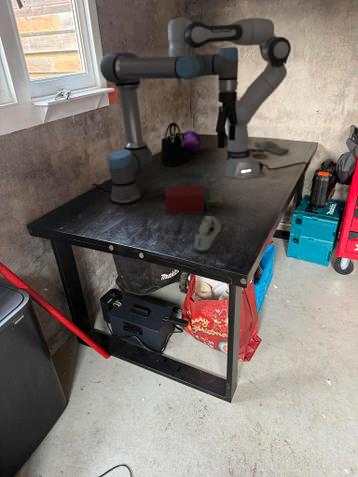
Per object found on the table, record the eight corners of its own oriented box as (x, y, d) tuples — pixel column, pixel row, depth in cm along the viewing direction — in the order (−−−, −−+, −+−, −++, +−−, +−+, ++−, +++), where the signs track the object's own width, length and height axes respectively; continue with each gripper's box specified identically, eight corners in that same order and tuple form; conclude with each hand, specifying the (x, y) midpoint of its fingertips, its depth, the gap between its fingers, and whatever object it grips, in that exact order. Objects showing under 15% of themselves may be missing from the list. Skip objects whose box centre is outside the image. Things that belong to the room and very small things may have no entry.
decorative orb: (204, 151, 235) (204, 129, 228) (194, 156, 225) (193, 134, 217) (186, 149, 243) (186, 128, 235) (175, 154, 232) (174, 132, 224)
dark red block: (204, 203, 158) (204, 185, 153) (204, 213, 148) (203, 194, 144) (169, 203, 159) (168, 186, 155) (166, 213, 150) (165, 195, 145)
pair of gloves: (253, 161, 209) (253, 153, 207) (231, 152, 230) (232, 144, 227) (291, 153, 219) (292, 145, 216) (267, 145, 240) (268, 138, 237)
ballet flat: (224, 223, 138) (224, 206, 134) (211, 254, 118) (211, 235, 114) (205, 222, 140) (204, 205, 136) (189, 252, 120) (188, 233, 116)
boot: (229, 139, 260) (230, 113, 250) (227, 147, 240) (228, 119, 230) (218, 139, 262) (218, 113, 252) (215, 147, 242) (215, 119, 232)
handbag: (171, 167, 207) (169, 126, 195) (160, 165, 212) (156, 125, 199) (188, 158, 222) (187, 119, 209) (177, 157, 226) (175, 119, 214)
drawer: (221, 201, 156) (222, 187, 152) (222, 210, 147) (222, 196, 144) (176, 202, 158) (175, 188, 155) (173, 211, 150) (173, 196, 146)
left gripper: (225, 95, 122) (224, 152, 133) (246, 87, 141) (243, 137, 152) (207, 95, 125) (207, 150, 136) (229, 87, 144) (228, 136, 155)
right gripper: (185, 56, 152) (186, 89, 159) (184, 55, 169) (185, 84, 176) (171, 57, 152) (173, 89, 159) (171, 56, 169) (173, 85, 176)
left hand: (226, 144), depth 144 cm, fingers open, 13 cm apart
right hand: (179, 87), depth 168 cm, fingers open, 8 cm apart
